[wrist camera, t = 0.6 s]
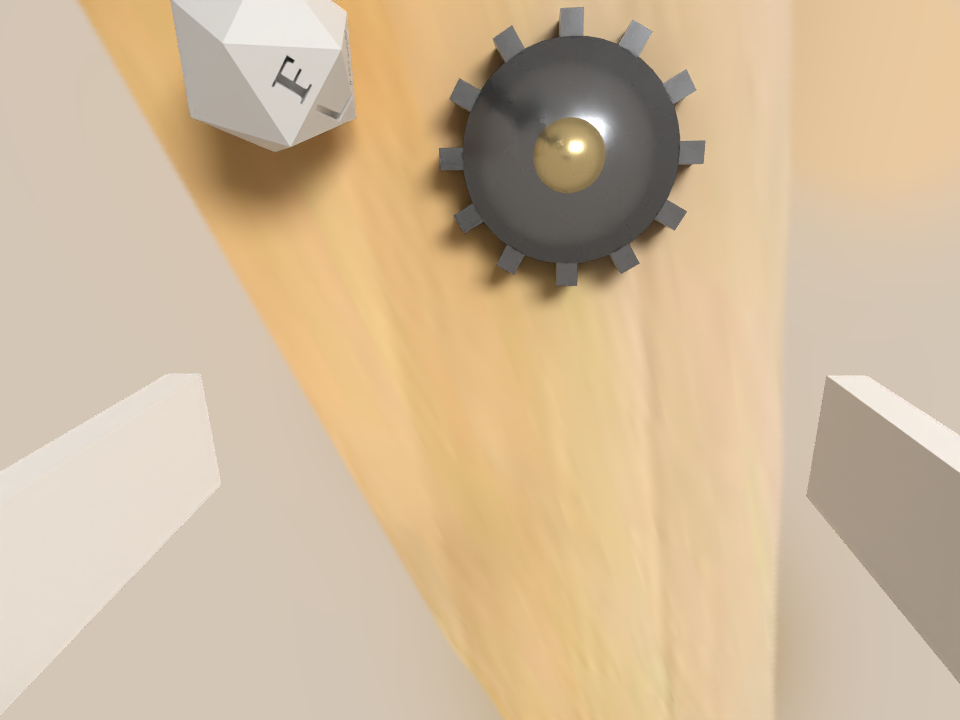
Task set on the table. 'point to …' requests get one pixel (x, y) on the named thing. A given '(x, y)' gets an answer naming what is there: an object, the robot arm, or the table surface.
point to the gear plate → (571, 148)
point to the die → (266, 67)
